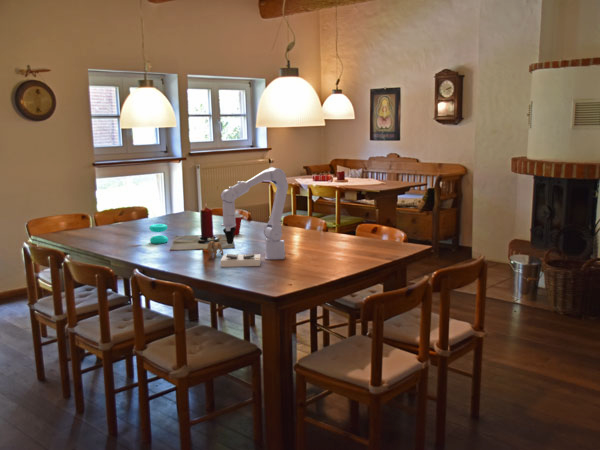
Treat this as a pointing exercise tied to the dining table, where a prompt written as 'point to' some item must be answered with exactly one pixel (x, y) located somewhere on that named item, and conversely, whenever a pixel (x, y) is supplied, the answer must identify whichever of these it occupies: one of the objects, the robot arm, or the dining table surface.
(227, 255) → the rocker
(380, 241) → the dining table surface
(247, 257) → the rocker
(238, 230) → the plastic cup
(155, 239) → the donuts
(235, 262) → the beige switch box
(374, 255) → the dining table surface
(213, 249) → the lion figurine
